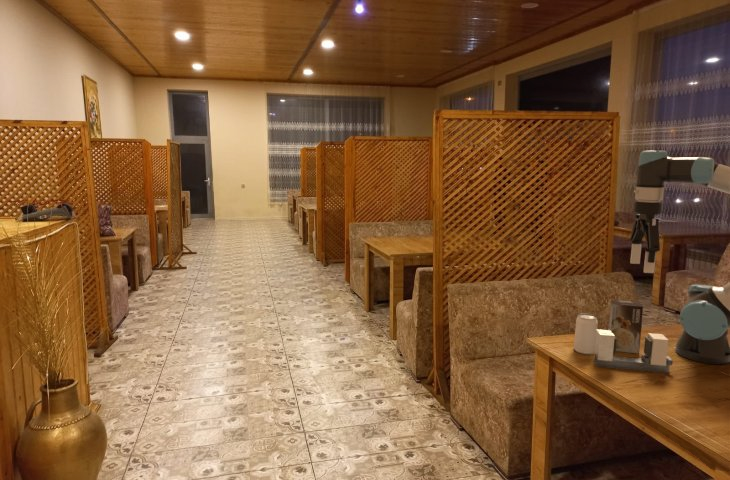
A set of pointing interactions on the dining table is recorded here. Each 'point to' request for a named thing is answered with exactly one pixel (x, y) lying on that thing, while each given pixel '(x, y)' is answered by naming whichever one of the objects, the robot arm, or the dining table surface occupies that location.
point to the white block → (656, 349)
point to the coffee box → (626, 324)
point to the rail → (605, 358)
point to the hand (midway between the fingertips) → (641, 268)
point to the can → (585, 333)
